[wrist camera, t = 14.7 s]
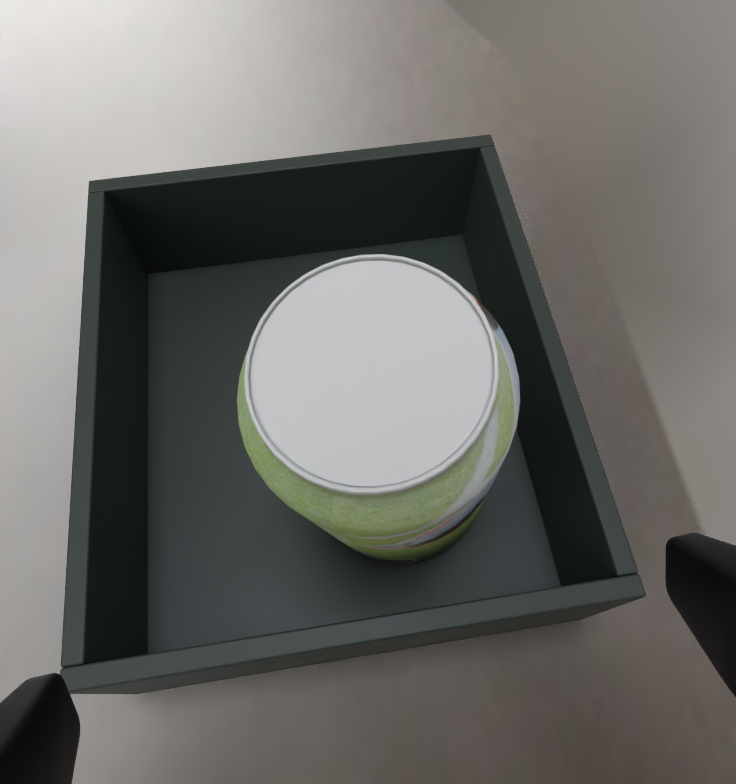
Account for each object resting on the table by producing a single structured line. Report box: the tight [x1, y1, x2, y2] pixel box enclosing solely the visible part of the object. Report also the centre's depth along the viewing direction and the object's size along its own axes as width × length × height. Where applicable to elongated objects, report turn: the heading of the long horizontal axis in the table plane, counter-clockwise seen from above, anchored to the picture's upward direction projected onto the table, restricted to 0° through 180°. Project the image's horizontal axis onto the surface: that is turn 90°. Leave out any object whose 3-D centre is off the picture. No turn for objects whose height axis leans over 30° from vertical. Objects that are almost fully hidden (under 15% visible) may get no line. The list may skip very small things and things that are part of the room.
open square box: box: [60, 135, 646, 694], centre depth 22 cm, size 17×15×6 cm
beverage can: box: [237, 254, 520, 563], centre depth 17 cm, size 6×7×12 cm
